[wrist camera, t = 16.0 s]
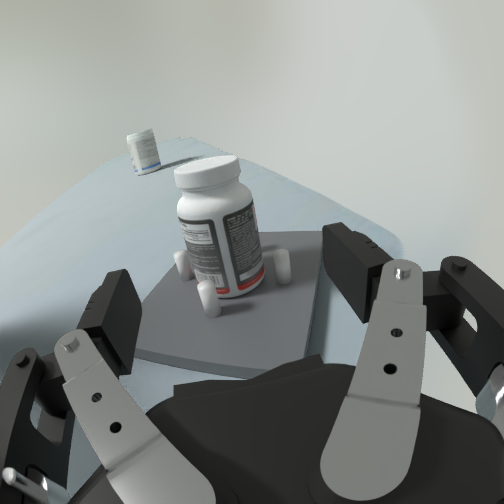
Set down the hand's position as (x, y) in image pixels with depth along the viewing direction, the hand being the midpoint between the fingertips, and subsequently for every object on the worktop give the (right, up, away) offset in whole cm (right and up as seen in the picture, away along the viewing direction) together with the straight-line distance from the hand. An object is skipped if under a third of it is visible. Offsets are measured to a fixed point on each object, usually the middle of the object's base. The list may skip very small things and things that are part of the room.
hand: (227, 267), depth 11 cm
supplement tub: (-35, +28, +84) cm, 95 cm away
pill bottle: (-1, -2, +13) cm, 13 cm away
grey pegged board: (0, -3, +14) cm, 14 cm away
